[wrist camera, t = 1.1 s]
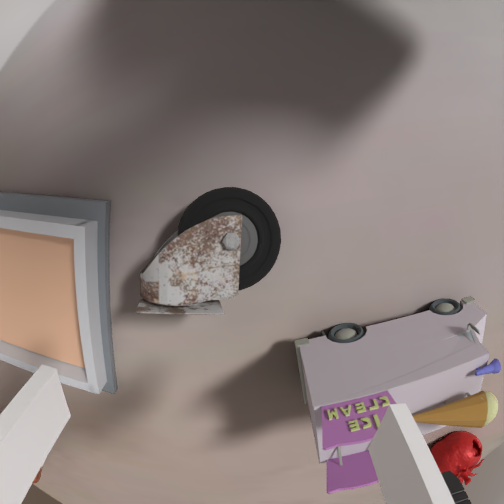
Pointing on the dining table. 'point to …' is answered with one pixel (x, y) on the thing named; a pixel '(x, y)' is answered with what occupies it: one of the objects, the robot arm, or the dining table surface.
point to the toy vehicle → (393, 382)
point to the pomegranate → (458, 454)
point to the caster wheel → (211, 254)
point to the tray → (57, 288)
